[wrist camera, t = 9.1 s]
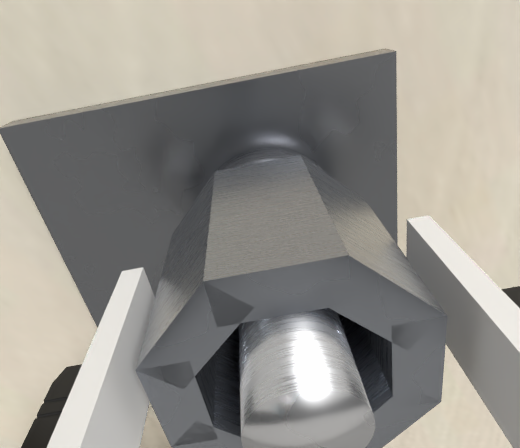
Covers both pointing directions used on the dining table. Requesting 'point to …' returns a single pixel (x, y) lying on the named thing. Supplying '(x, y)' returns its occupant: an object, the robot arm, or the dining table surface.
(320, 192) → the tube
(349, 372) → the shaft fixture
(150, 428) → the dining table surface
